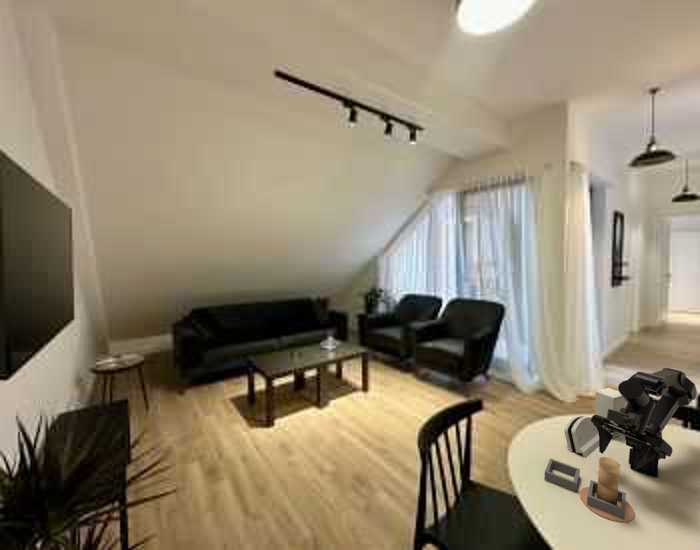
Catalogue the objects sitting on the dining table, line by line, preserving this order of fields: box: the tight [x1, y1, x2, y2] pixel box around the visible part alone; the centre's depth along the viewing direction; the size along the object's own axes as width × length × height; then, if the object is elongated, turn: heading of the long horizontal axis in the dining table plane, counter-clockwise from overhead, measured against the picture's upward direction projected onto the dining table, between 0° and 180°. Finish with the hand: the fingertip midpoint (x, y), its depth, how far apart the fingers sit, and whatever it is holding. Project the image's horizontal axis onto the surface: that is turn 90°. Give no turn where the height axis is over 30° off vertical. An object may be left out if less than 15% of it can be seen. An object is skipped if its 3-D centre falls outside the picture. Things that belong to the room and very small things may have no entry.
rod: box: [597, 456, 621, 506], centre depth 92 cm, size 4×4×12 cm
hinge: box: [563, 415, 599, 459], centre depth 119 cm, size 17×5×10 cm, turn 124°
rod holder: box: [544, 458, 581, 493], centre depth 103 cm, size 8×8×2 cm
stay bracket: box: [579, 479, 635, 523], centre depth 92 cm, size 12×12×3 cm
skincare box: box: [594, 387, 627, 438], centre depth 125 cm, size 8×7×16 cm
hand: (617, 460), depth 97 cm, fingers open, 9 cm apart
